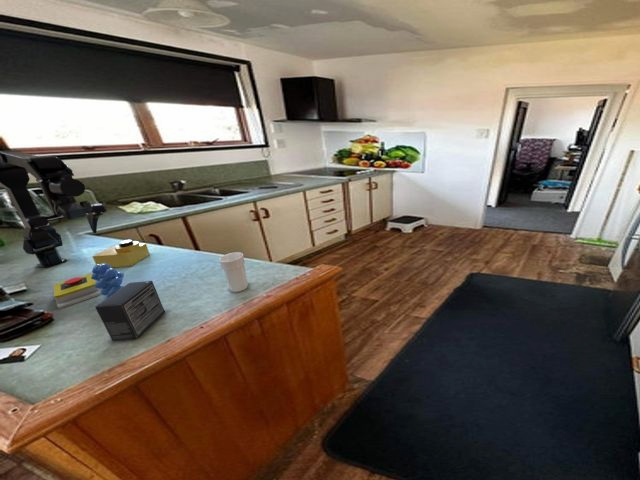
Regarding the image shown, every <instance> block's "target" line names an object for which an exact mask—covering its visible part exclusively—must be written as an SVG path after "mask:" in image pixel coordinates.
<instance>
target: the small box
mask: <svg viewBox="0 0 640 480" xmlns="http://www.w3.org/2000/svg"><path fill="white" fill-rule="evenodd" d="M94 309H95V310H96V312H97V314H98V315H99V318H100V319H101V322H102V323H103V326H104V327H105V329H106V331H107V333H108V335H109V337H110V340H111V341H113V342H116V341H127V340H138V339H139V338H140V337H141V336H142V335H143V334H144V333H145V332H146V331H147V330H148V329H149V328H151V326H153V325H154V323H155V322H157V320H158V319H160V317H162V316H163V315H164V314H165V313H166V310H165V308H164V306H163V304H162V301H161V298H160V297H159V294H158V292H157V288H156V287H155V284H154V282H153V280H145V281H143V280H142V281H135V282H133V281H132V282H129V283H127V284H126V285H123V288H121V289H120V290H118V291H117V292H116V293H114V294H113V295H111V296H110V297H107V298H105V299H103V300H102V301H101V302H99V303H98V304H96V305H95V306H94Z"/></svg>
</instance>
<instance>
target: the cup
mask: <svg viewBox="0 0 640 480" xmlns="http://www.w3.org/2000/svg"><path fill="white" fill-rule="evenodd" d="M244 256H245V255H244V254H243V252H240V251H235V252H229V253H226V254H223V255H221V256H220V257H219V258H218V260H219V264H220V267H221V270H222V271H223V273H224V276H225V280H226V282H227V285H228V288H229V291H231V292H232V293H237V292H241V291H244V290H246V289H247V288H248V287H249V283H248V278H247V277H248V276H247V271H246V266H245V265H246V264H245V263H246V262H245V257H244Z"/></svg>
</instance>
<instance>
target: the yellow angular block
mask: <svg viewBox="0 0 640 480" xmlns="http://www.w3.org/2000/svg"><path fill="white" fill-rule="evenodd" d="M132 241H133V243H134V244H133V245H130V246H127V247H120V245H119V244H115V245H112V246H110V247H108V248H106V249H104V250H102V251H101V252H100V251H99V252H98V253H96V254H94V255H92V259H93V260H94V263H95V265H100V264H108V265H111V268H123V267H133V266H134V265H135V264H137V263H139V262H140V261H142V260H143V259H145V258H146V257H148V256H151V253H150V250H149V248H148V245H147V243H144V242H143V243H140V242H139V241H137V240H132Z"/></svg>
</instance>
